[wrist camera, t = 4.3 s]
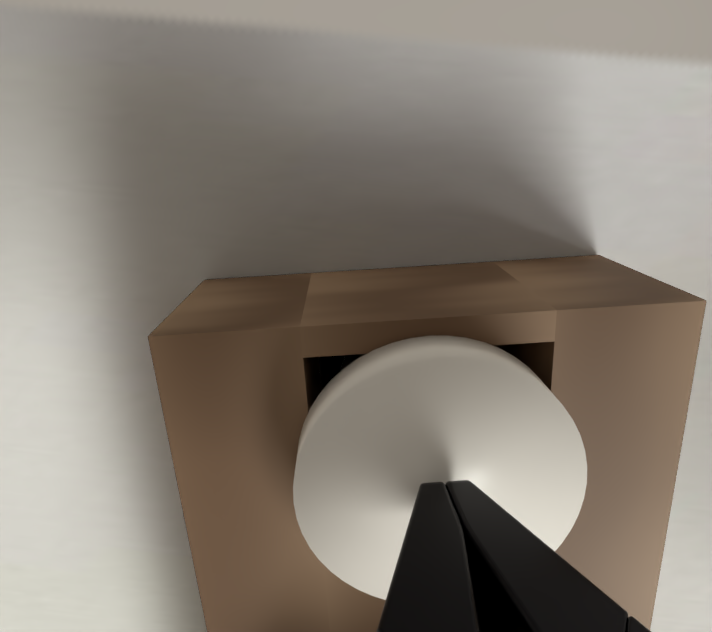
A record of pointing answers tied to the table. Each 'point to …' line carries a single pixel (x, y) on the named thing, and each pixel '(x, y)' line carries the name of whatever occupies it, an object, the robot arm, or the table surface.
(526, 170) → the table surface
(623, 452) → the knob mount
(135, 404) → the table surface
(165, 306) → the table surface
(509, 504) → the knob
